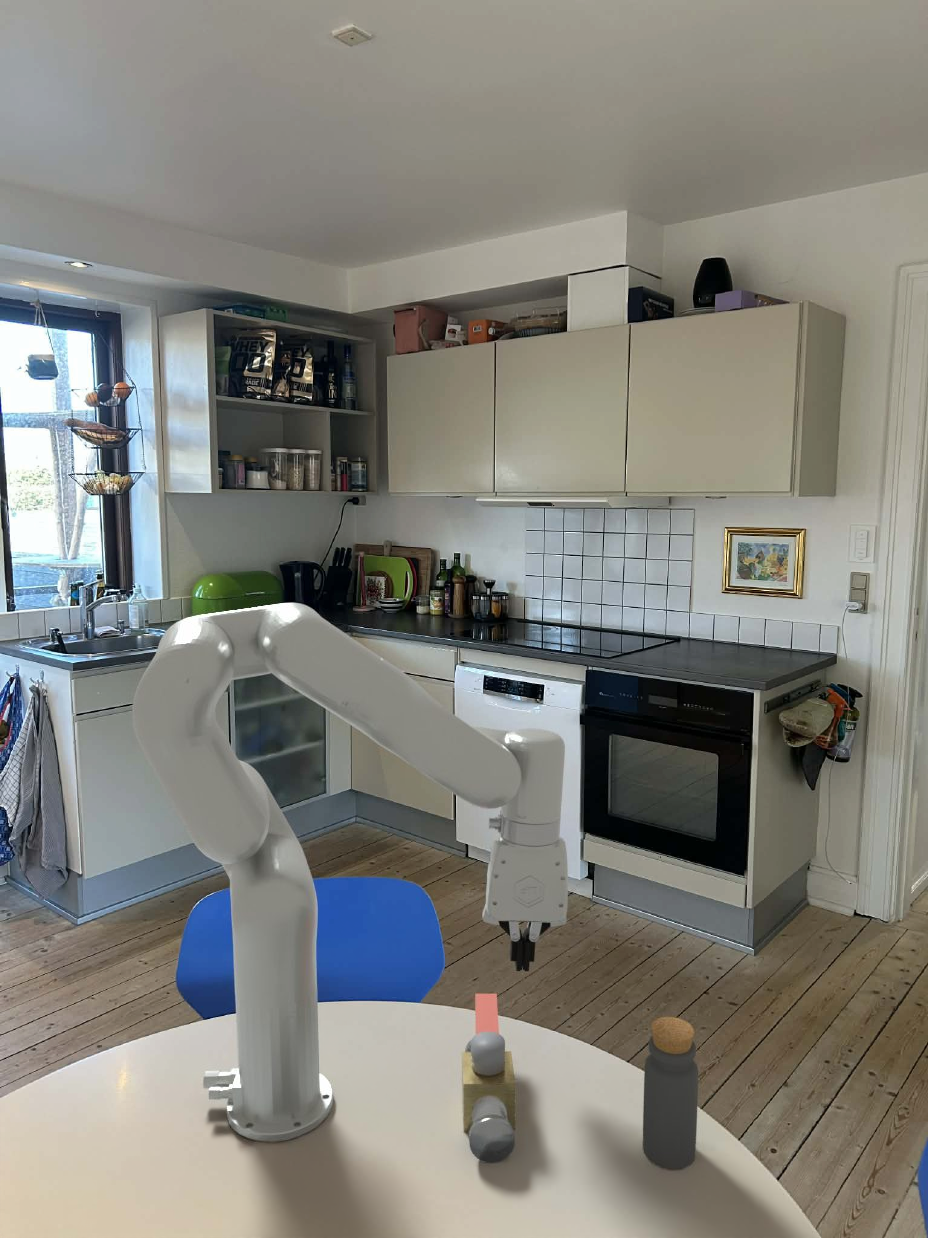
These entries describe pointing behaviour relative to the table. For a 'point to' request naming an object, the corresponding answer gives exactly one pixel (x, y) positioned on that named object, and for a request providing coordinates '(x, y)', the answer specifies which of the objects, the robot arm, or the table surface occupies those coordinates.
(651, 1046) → the bottle
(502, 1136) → the valve body
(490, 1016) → the lever
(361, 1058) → the table surface
